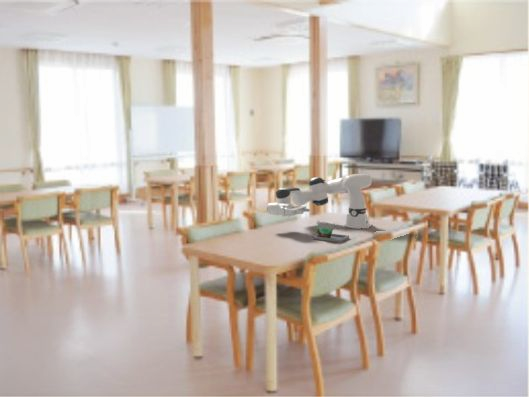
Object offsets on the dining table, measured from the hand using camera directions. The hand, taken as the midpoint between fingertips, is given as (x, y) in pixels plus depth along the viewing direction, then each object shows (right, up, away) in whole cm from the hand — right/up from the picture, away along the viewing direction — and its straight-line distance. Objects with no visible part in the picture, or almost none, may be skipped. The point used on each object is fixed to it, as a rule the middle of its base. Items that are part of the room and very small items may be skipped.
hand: (306, 211), depth 360 cm
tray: (+16, -18, -8) cm, 25 cm away
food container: (+11, -17, -9) cm, 22 cm away
